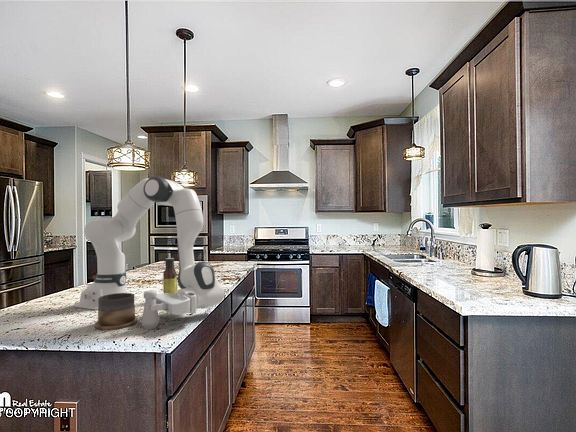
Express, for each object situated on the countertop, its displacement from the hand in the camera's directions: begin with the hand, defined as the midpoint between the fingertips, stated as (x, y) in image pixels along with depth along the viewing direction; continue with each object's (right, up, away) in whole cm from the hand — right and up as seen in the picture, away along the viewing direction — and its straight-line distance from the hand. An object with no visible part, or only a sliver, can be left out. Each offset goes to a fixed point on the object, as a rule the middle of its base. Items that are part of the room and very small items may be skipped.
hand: (147, 306), depth 115 cm
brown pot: (-14, -8, +5) cm, 17 cm away
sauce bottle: (-7, -8, +41) cm, 42 cm away
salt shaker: (+1, -8, +1) cm, 8 cm away
